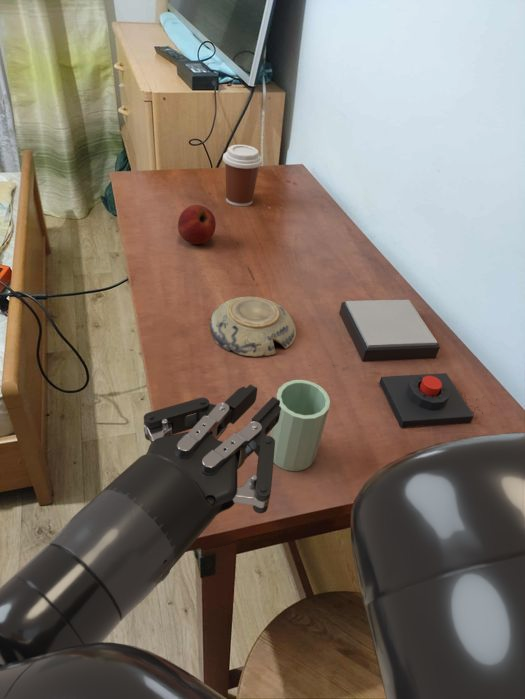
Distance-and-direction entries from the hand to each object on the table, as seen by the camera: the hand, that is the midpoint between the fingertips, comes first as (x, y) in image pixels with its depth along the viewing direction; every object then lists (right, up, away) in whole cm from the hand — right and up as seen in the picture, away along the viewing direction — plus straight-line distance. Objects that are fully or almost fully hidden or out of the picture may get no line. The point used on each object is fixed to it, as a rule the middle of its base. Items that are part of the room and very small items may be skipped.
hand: (264, 398), depth 48 cm
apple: (-14, +27, +57) cm, 65 cm away
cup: (+4, -9, +18) cm, 21 cm away
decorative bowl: (-2, +8, +37) cm, 38 cm away
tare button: (+24, -1, +26) cm, 36 cm away
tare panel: (+24, -3, +28) cm, 37 cm away
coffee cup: (-6, +40, +74) cm, 85 cm away
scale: (+21, +7, +40) cm, 46 cm away
